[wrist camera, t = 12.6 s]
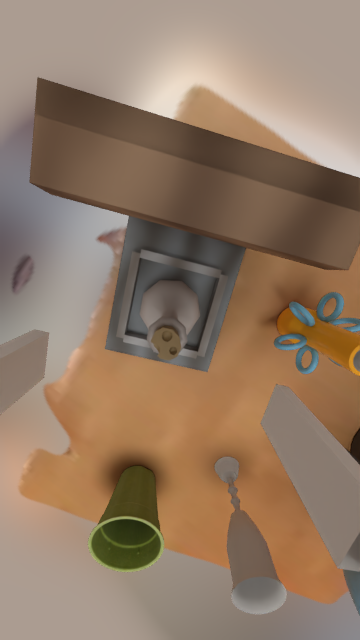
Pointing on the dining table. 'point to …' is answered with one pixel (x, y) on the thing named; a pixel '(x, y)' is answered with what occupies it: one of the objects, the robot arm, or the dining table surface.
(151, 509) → the plant pot
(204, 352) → the ledge nook
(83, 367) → the dining table surface
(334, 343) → the orange ring-handled vase
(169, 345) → the potion bottle
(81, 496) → the dining table surface
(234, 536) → the chalice
